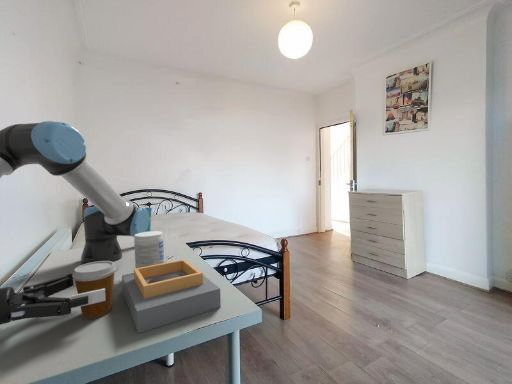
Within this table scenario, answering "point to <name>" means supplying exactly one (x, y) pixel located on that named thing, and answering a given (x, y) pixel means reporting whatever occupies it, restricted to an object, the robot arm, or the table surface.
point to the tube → (149, 219)
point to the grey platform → (168, 294)
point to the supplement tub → (148, 249)
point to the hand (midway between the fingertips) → (103, 284)
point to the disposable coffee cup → (95, 285)
